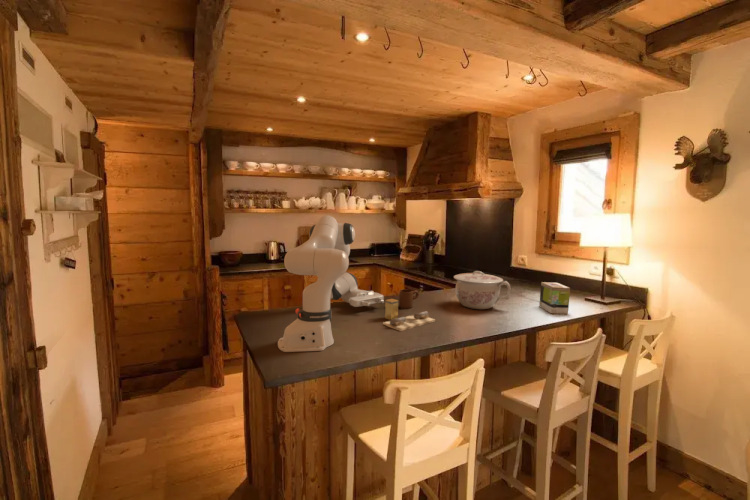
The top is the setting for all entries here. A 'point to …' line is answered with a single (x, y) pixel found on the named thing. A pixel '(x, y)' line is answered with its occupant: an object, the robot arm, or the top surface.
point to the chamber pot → (479, 289)
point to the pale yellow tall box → (391, 309)
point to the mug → (407, 298)
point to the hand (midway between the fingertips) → (376, 303)
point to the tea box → (554, 297)
